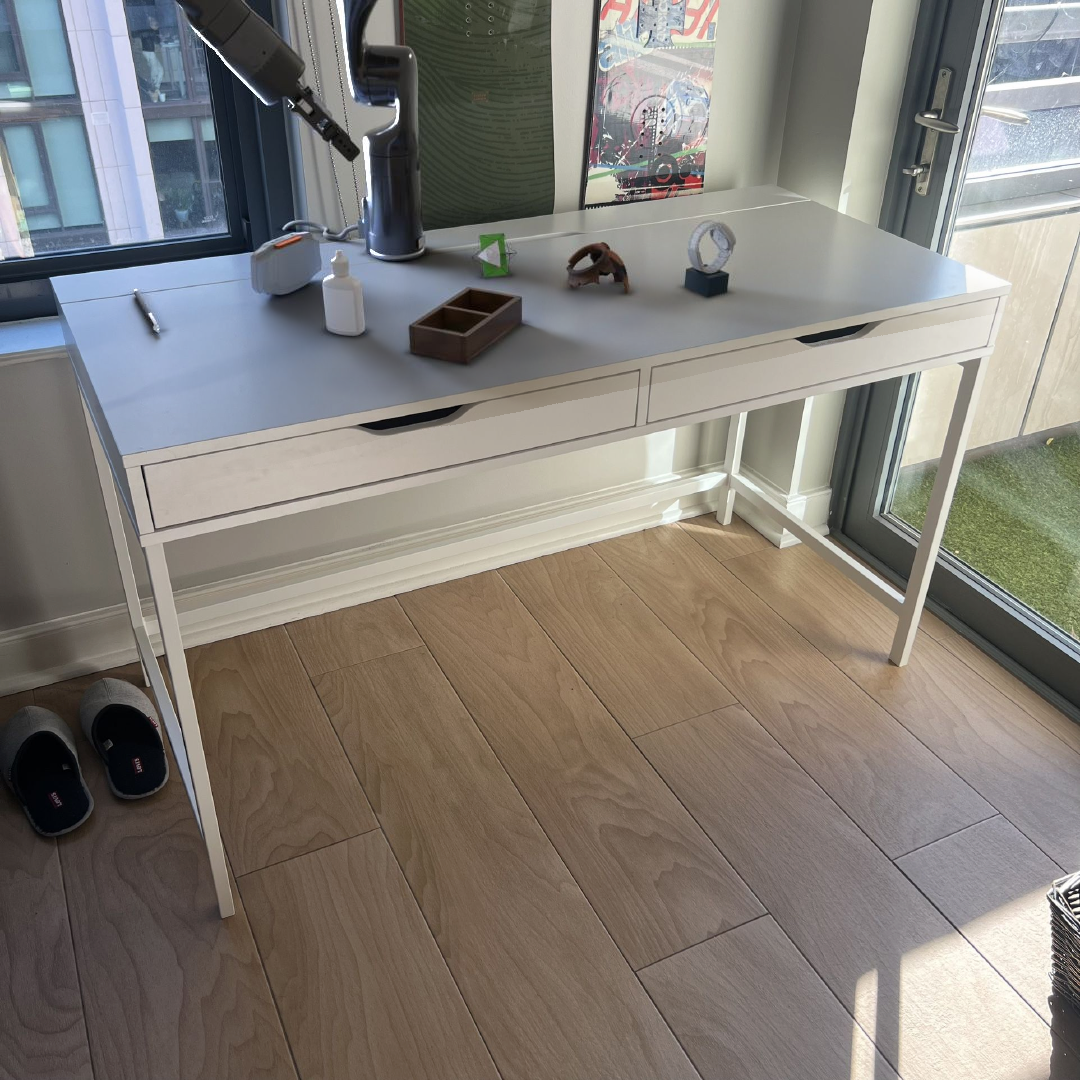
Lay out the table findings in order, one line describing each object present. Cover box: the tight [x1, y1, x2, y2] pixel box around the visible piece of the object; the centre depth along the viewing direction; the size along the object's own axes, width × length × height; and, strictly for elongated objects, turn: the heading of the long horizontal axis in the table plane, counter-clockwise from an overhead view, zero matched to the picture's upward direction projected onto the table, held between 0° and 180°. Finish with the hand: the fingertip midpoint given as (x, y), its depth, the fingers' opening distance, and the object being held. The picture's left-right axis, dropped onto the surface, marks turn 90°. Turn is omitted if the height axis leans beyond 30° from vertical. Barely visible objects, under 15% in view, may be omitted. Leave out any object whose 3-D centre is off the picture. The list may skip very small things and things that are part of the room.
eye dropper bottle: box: [322, 249, 366, 337], centre depth 152 cm, size 4×6×12 cm
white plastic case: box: [250, 231, 323, 296], centre depth 168 cm, size 14×3×8 cm, turn 150°
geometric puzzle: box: [471, 232, 518, 278], centre depth 175 cm, size 7×7×8 cm
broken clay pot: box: [565, 241, 631, 294], centre depth 171 cm, size 12×10×8 cm
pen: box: [133, 288, 161, 333], centre depth 160 cm, size 1×19×1 cm, turn 27°
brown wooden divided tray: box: [408, 286, 523, 365], centre depth 153 cm, size 9×17×4 cm, turn 155°
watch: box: [683, 219, 737, 298], centre depth 169 cm, size 6×8×11 cm
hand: (350, 150), depth 147 cm, fingers open, 8 cm apart
